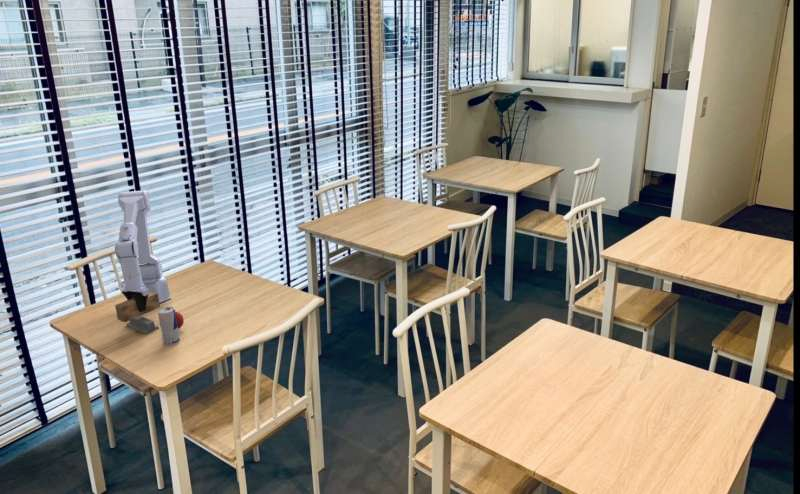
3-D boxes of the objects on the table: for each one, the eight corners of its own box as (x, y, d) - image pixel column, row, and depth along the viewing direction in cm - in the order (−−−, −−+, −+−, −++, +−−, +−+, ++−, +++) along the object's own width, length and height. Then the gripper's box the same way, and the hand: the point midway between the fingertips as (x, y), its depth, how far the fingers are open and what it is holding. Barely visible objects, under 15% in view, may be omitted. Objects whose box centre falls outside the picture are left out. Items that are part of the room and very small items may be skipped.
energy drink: (182, 338, 216) (177, 306, 212) (176, 346, 211) (170, 313, 207) (167, 338, 217) (161, 306, 213) (160, 345, 212) (154, 313, 208)
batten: (153, 304, 230) (151, 290, 228) (160, 307, 228) (157, 293, 226) (118, 319, 220) (115, 305, 218) (124, 322, 217) (121, 307, 215)
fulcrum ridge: (139, 320, 231) (137, 312, 230) (158, 328, 224) (157, 320, 223) (126, 325, 227) (125, 317, 226) (146, 334, 220) (144, 325, 219)
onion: (181, 334, 219) (178, 313, 216) (165, 334, 219) (161, 313, 217) (187, 326, 225) (183, 306, 222) (171, 326, 225) (167, 306, 222)
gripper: (109, 273, 220) (117, 308, 224) (133, 282, 211) (140, 318, 216) (128, 267, 225) (135, 301, 230) (151, 275, 217) (158, 310, 221)
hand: (139, 309), depth 223 cm, fingers closed on batten, 4 cm apart
